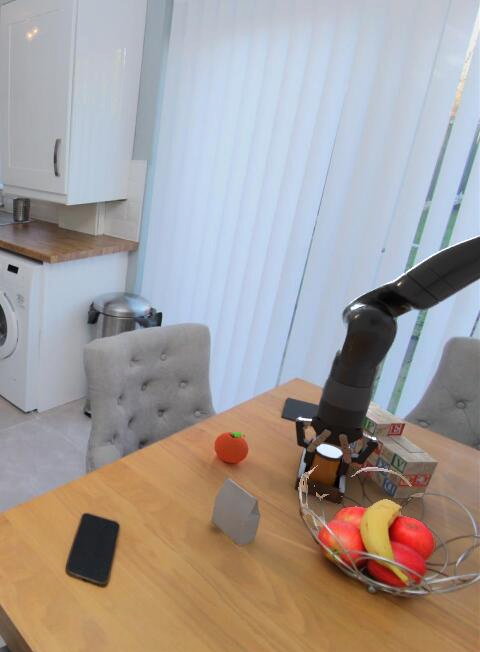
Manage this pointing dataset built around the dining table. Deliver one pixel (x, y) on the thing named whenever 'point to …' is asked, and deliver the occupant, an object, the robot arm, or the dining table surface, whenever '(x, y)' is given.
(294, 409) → the mat
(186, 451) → the dining table surface
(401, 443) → the stack of blocks
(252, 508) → the grey paper bag
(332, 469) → the amber jar
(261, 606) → the dining table surface
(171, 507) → the dining table surface
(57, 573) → the dining table surface
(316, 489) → the rack
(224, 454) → the red tomato
